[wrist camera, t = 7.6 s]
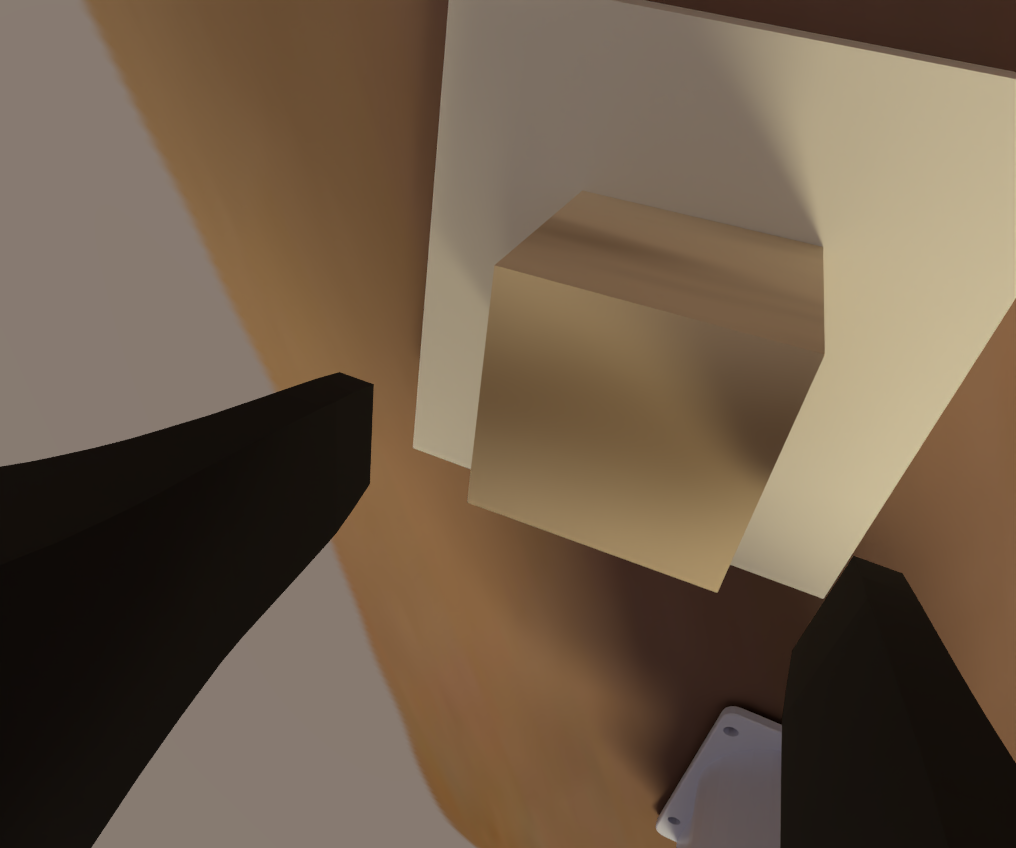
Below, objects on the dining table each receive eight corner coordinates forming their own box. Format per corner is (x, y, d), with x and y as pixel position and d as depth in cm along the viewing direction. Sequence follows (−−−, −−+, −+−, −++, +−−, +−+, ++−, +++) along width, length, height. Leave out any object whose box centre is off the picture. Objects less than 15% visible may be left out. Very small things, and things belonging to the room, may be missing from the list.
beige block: (822, 527, 20) (823, 599, 18) (454, 400, 23) (412, 448, 20) (1080, 82, 13) (1139, 102, 11) (506, -28, 16) (451, -31, 13)
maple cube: (741, 446, 16) (717, 593, 12) (546, 386, 17) (467, 501, 13) (823, 247, 13) (824, 354, 9) (582, 190, 14) (494, 264, 11)
